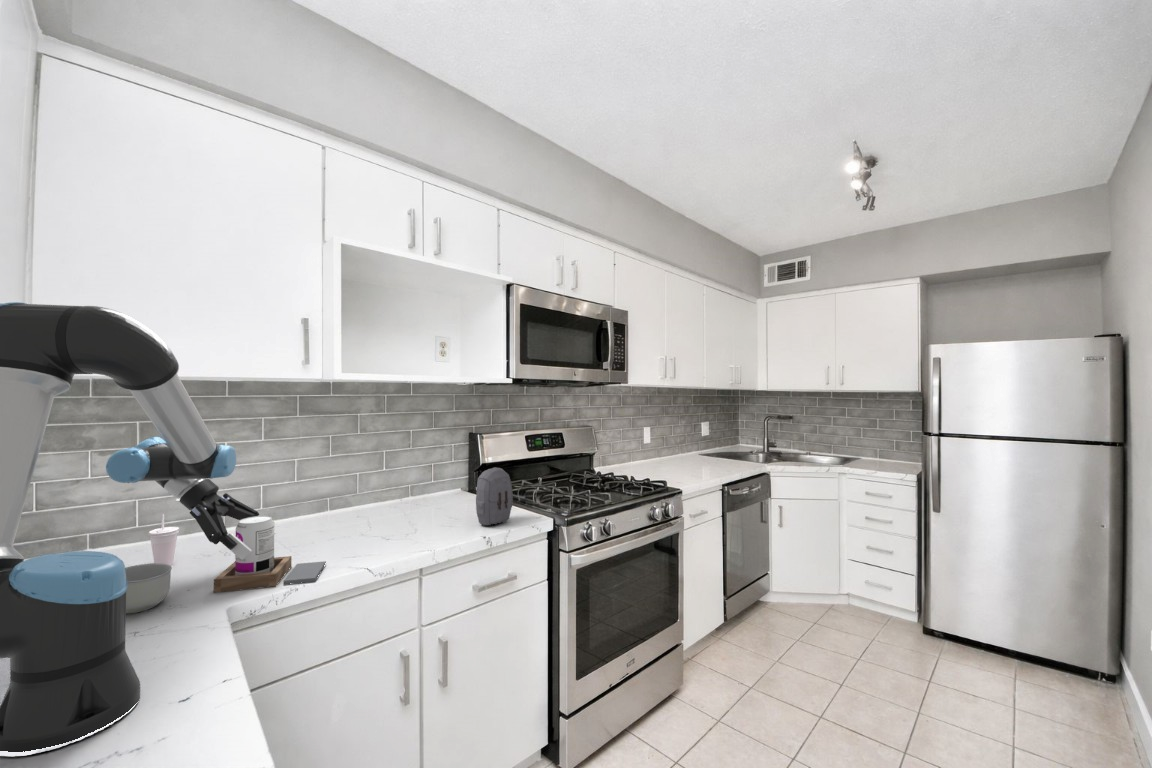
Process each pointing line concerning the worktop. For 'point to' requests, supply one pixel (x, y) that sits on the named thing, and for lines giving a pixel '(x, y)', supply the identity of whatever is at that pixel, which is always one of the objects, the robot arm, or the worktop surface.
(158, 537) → the smoothie
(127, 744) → the worktop surface
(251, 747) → the worktop surface
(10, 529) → the robot arm
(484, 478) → the soft grey pack
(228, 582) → the pocket frame
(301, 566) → the rubber mat
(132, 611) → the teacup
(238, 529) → the supplement can
